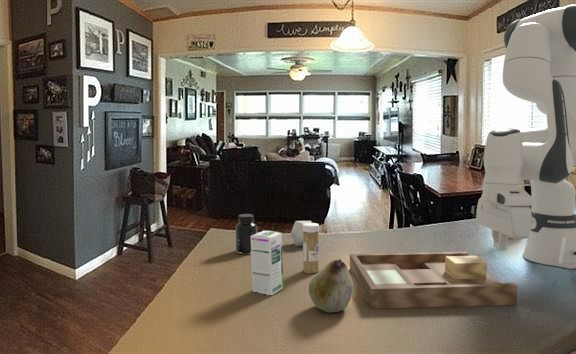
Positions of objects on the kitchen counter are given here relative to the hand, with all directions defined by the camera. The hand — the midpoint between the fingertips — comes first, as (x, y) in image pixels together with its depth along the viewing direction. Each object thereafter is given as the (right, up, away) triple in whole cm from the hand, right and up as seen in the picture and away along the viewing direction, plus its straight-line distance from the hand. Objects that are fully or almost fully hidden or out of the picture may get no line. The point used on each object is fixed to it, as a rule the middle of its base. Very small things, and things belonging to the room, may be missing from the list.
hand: (499, 248), depth 113 cm
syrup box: (-58, -10, -2) cm, 59 cm away
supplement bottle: (-67, -6, +33) cm, 74 cm away
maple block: (-8, -7, +1) cm, 11 cm away
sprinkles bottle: (-47, -8, +13) cm, 49 cm away
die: (-48, -5, +40) cm, 63 cm away
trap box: (-19, -9, +1) cm, 21 cm away
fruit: (-44, -11, -13) cm, 47 cm away
